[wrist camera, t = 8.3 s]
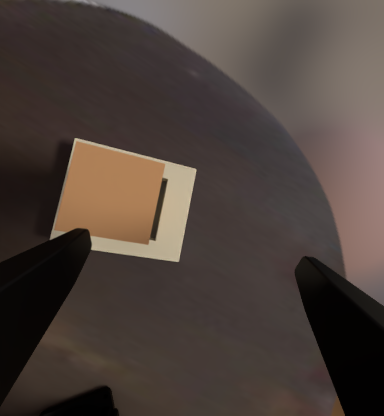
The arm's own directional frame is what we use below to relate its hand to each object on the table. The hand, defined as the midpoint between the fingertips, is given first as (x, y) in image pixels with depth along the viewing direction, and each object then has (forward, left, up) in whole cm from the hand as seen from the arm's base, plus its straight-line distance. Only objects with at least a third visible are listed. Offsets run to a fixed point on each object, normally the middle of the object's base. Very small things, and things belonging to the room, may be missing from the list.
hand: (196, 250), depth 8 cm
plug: (-3, +3, -13) cm, 14 cm away
